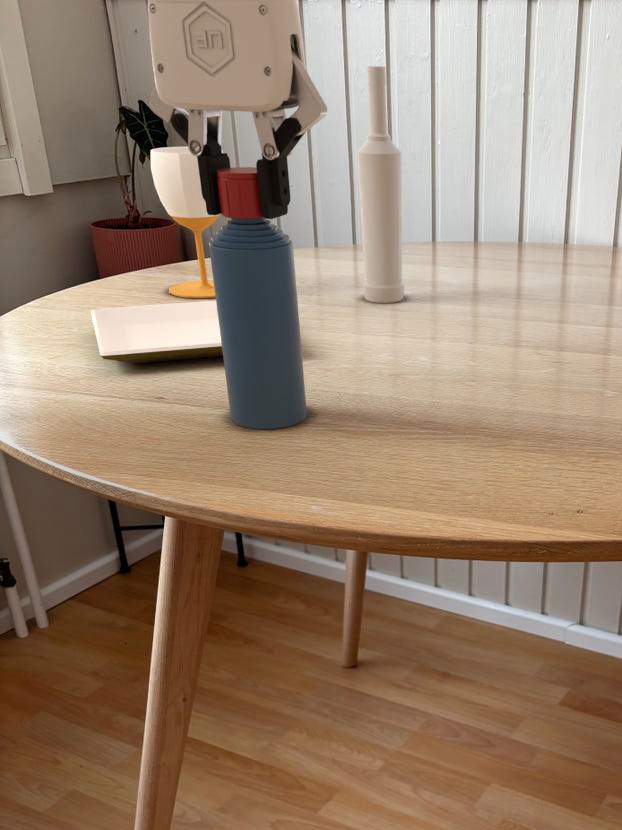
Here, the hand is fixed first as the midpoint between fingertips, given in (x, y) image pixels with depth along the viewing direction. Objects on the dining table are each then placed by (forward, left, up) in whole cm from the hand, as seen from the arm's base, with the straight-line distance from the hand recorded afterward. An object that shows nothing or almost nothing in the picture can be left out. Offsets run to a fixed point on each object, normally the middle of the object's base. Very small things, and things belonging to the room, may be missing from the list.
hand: (247, 211), depth 72 cm
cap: (0, 0, 0) cm, 0 cm away
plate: (-2, +26, -16) cm, 31 cm away
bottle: (+24, +38, -16) cm, 48 cm away
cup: (+4, +50, -16) cm, 53 cm away
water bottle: (0, 0, -16) cm, 16 cm away
